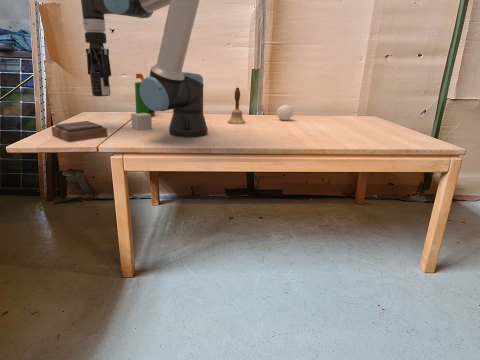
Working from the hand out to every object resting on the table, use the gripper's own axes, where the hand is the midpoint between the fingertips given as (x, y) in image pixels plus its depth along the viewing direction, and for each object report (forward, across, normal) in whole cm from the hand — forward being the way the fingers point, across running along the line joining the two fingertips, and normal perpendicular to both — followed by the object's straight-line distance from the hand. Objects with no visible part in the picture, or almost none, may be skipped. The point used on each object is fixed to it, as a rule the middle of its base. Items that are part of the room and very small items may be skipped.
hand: (101, 94), depth 147 cm
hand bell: (+14, +24, +53) cm, 60 cm away
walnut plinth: (+14, +8, -14) cm, 21 cm away
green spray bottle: (+14, -16, +30) cm, 36 cm away
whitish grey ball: (+15, +34, +77) cm, 86 cm away
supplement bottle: (+1, 0, 0) cm, 1 cm away
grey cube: (+14, +10, +11) cm, 21 cm away
